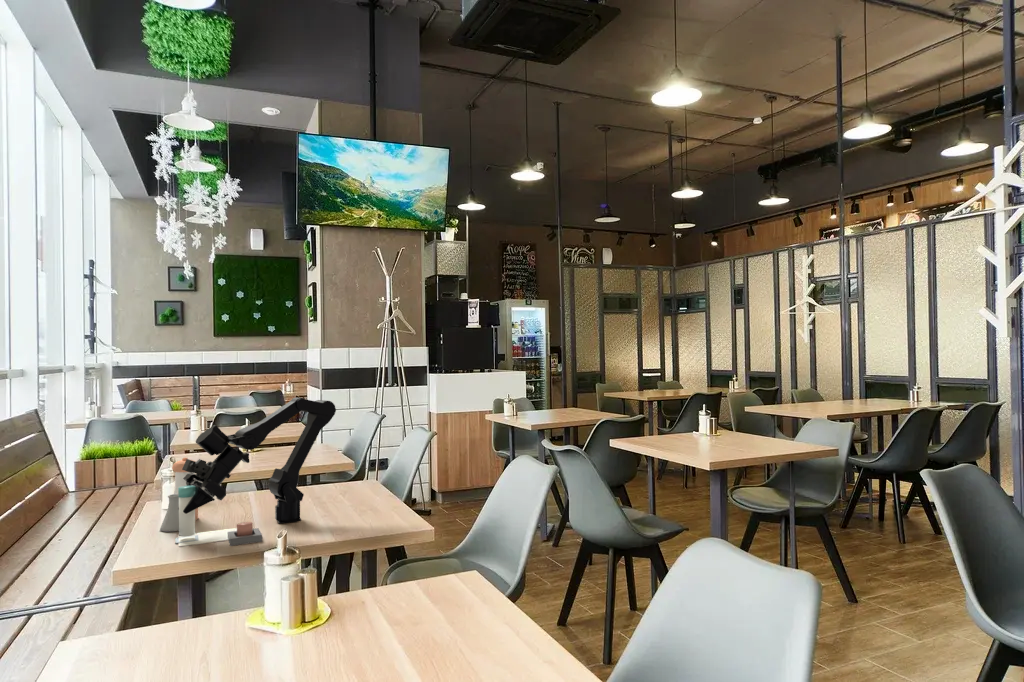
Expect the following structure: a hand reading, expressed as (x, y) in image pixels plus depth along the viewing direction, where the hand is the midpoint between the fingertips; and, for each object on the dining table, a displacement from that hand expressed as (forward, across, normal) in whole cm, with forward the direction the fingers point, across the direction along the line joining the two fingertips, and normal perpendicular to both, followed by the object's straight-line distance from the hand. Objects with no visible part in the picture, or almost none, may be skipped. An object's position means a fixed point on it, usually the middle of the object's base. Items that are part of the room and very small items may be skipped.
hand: (181, 511), depth 177 cm
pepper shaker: (0, -25, +12) cm, 28 cm away
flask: (+4, -15, +8) cm, 18 cm away
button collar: (-3, +12, +15) cm, 19 cm away
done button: (-4, +12, +14) cm, 18 cm away
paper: (+1, +2, +11) cm, 11 cm away
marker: (+4, 0, +6) cm, 7 cm away
